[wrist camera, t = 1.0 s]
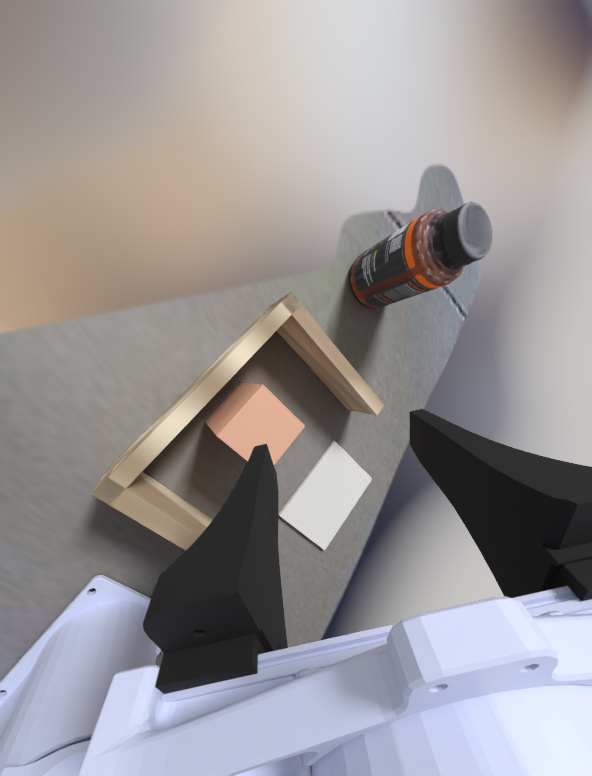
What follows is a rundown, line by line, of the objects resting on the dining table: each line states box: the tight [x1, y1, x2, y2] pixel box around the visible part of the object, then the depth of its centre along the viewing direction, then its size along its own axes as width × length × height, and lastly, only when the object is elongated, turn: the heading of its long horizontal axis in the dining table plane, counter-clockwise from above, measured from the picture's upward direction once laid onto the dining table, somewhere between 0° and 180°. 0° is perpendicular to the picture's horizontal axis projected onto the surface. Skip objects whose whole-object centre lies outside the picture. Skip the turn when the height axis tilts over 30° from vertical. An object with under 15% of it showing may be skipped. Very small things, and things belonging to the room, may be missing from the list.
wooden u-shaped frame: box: [91, 292, 384, 550], centre depth 22 cm, size 18×13×4 cm
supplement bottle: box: [350, 202, 492, 308], centre depth 24 cm, size 6×6×11 cm
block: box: [205, 383, 305, 465], centre depth 21 cm, size 4×4×6 cm
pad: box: [278, 441, 372, 550], centre depth 28 cm, size 9×7×1 cm
